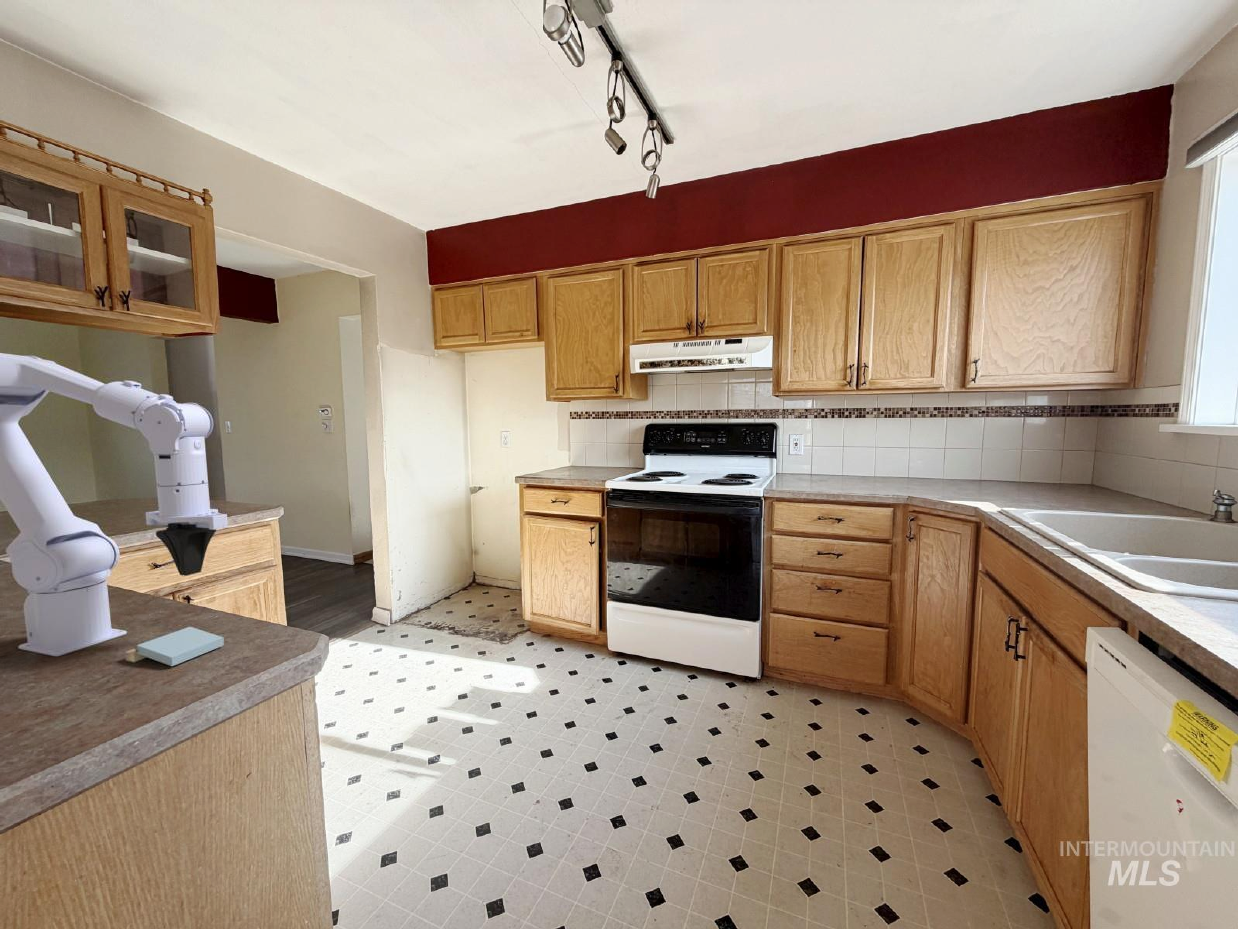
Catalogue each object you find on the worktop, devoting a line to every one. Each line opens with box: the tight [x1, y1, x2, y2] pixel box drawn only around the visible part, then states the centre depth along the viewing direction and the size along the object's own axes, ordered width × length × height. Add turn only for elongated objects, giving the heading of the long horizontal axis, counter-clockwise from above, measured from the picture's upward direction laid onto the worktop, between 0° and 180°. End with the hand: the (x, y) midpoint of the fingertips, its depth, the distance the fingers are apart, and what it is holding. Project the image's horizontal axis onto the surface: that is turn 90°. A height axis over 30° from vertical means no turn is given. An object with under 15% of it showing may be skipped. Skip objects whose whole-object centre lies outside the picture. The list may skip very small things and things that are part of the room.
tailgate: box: [134, 626, 225, 667], centre depth 69 cm, size 1×6×7 cm
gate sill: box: [124, 648, 148, 663], centre depth 70 cm, size 2×7×1 cm, turn 163°
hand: (190, 573), depth 74 cm, fingers closed
